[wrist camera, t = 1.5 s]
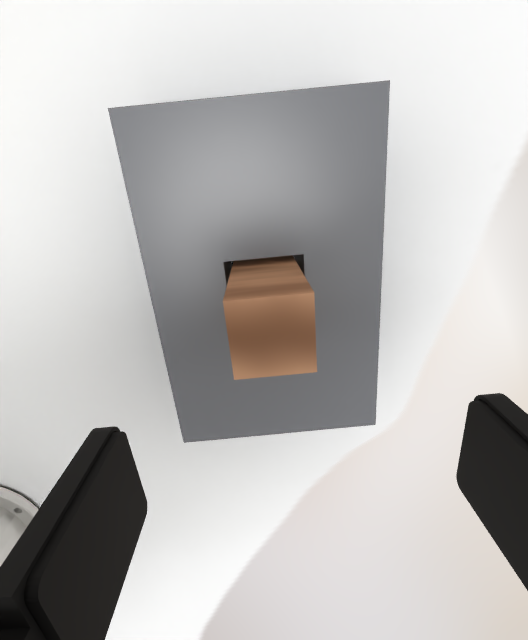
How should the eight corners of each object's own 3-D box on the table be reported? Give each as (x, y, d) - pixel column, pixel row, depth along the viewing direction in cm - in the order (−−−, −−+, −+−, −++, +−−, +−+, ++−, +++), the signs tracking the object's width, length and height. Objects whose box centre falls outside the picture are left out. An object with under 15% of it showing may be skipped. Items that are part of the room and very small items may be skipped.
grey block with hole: (354, 384, 33) (375, 424, 28) (195, 399, 33) (183, 442, 28) (358, 105, 24) (389, 80, 19) (141, 126, 24) (108, 108, 19)
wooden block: (291, 297, 30) (317, 372, 18) (241, 301, 30) (234, 380, 18) (287, 247, 28) (314, 292, 16) (236, 252, 28) (222, 301, 16)
